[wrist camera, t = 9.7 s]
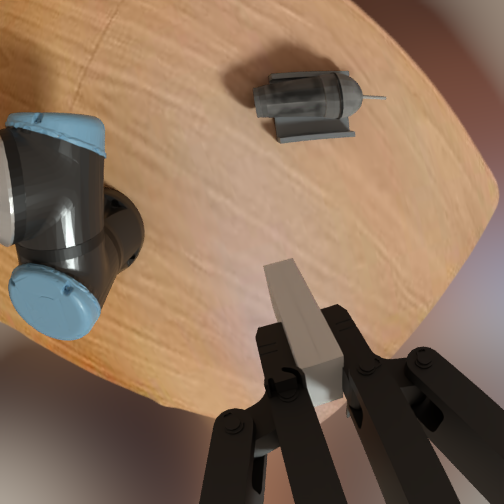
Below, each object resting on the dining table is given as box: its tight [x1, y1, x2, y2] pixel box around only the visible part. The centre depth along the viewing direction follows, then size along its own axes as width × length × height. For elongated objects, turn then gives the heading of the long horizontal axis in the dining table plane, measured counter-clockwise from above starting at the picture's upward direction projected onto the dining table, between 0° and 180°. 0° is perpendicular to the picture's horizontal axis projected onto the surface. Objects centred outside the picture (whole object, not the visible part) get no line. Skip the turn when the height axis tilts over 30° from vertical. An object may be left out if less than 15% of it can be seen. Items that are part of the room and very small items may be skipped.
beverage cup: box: [253, 72, 386, 119], centre depth 37 cm, size 7×7×20 cm
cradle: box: [268, 71, 355, 143], centre depth 40 cm, size 12×11×2 cm
